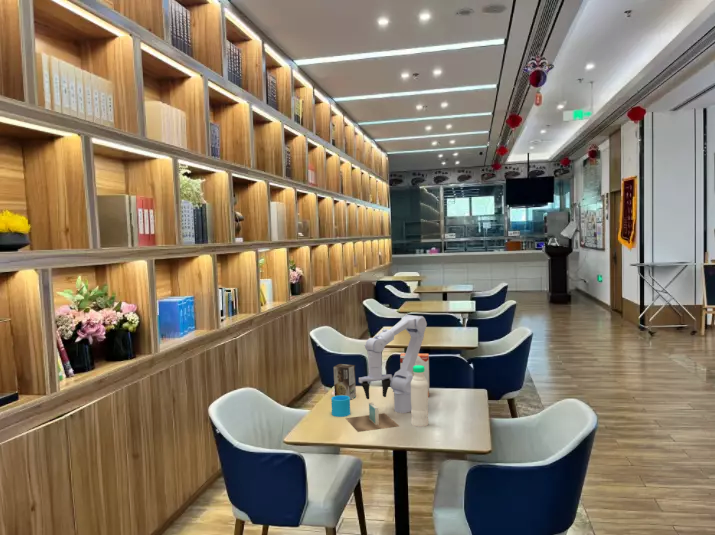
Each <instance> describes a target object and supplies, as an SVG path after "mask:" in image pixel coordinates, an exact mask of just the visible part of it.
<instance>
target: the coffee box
mask: <svg viewBox="0 0 715 535" xmlns="http://www.w3.org/2000/svg"><path fill="white" fill-rule="evenodd" d="M333 381H334V382H333V385H334V396H340V395H344V396H349V397H350V401H351V400H353V399H355V398H356V397H357V390H356V364H346V363H345V364H344V363H339V364H336V365H334V366H333ZM354 397H355V398H354ZM352 398H353V399H352Z"/></svg>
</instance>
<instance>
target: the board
mask: <svg viewBox="0 0 715 535" xmlns="http://www.w3.org/2000/svg"><path fill="white" fill-rule="evenodd" d="M345 420H346V421H347V422H348V423H349V424H350V425H351V426H352V427H353V429H354V430H355V431H356V432H357V433H360V432H367V431H369V432H370V431H375V430H383V429H389V428H390V429H391V428H398V427H400V425H399V424H398V423H397V422H395V421H394V420H393V419H392V418H391V416H388V415H387V414H386V413H385V412H383V413H379V425H375V424H374V423H373V422H372V421H371V420H370V419H369V414H368V415H361V416H360V415H359V416H353V417H346V418H345Z"/></svg>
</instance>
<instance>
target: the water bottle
mask: <svg viewBox="0 0 715 535" xmlns="http://www.w3.org/2000/svg"><path fill="white" fill-rule="evenodd" d="M424 371H425V368H424V366H422V365H416V366H414V367H413V372H414V376H413V379H412V381H411V407H412V409H411V413H410V415H411V425H412V426H414V427H426V426H428V425H429V422H430V421H429V409H428V408H429V407H428V406H429V397H428V389H427V386H428V383H427V380H426V378H425V376H424Z"/></svg>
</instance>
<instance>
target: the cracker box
mask: <svg viewBox="0 0 715 535" xmlns="http://www.w3.org/2000/svg"><path fill="white" fill-rule="evenodd" d="M405 354H406V352H402V353H400V358H399V363H400V364H399V365H400V368H399V370H400V369H401V366H402V363H403V360H404V357H405ZM416 365H422V366H424V368H425V371H424V376H425V378H426V380H427V383H428V386H427V389H428V398H429V397H430V357H429V353H418V356H417V359H416V362H415V365H414V366H416ZM412 375H413V376H414V372H413V371H412ZM405 379H406V378H405Z"/></svg>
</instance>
